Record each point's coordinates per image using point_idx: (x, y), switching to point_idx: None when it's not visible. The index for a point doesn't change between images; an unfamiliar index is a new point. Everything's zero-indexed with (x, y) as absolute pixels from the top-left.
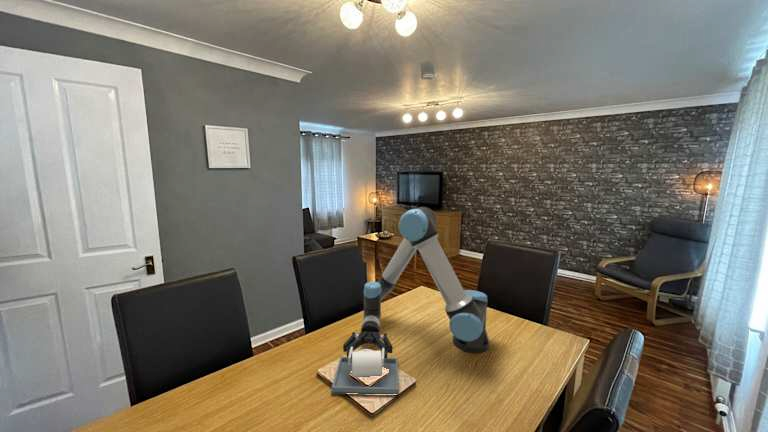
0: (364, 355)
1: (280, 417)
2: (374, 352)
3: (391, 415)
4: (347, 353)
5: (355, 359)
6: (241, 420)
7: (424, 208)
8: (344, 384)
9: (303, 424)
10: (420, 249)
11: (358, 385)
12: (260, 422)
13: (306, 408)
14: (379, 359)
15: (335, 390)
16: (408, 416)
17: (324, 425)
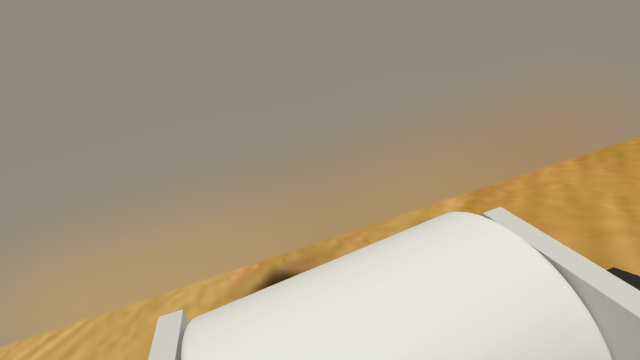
0: (367, 256)
1: (556, 181)
2: (267, 326)
3: (202, 310)
4: (608, 270)
5: (427, 221)
6: (634, 148)
7: None
8: None
9: (470, 194)
10: None
11: None
12: (582, 161)
13: (525, 220)
14: (210, 311)
15: None
16: (131, 331)
17: (411, 211)
